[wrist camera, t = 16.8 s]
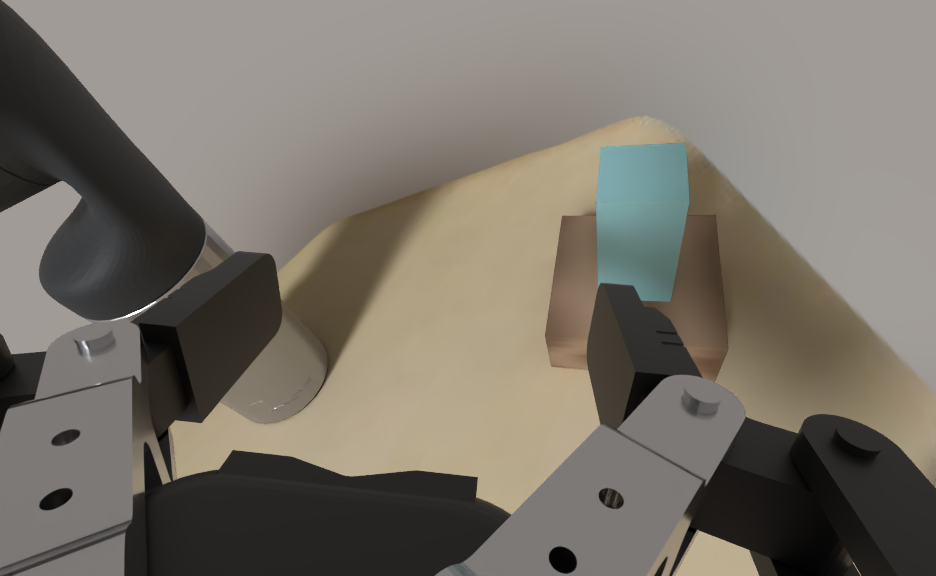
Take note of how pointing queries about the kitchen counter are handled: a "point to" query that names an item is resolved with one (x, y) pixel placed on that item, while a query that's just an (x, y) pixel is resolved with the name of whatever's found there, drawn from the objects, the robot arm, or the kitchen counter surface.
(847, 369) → the kitchen counter surface
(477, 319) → the kitchen counter surface
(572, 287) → the walnut block
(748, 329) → the kitchen counter surface
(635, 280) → the teal pillar
